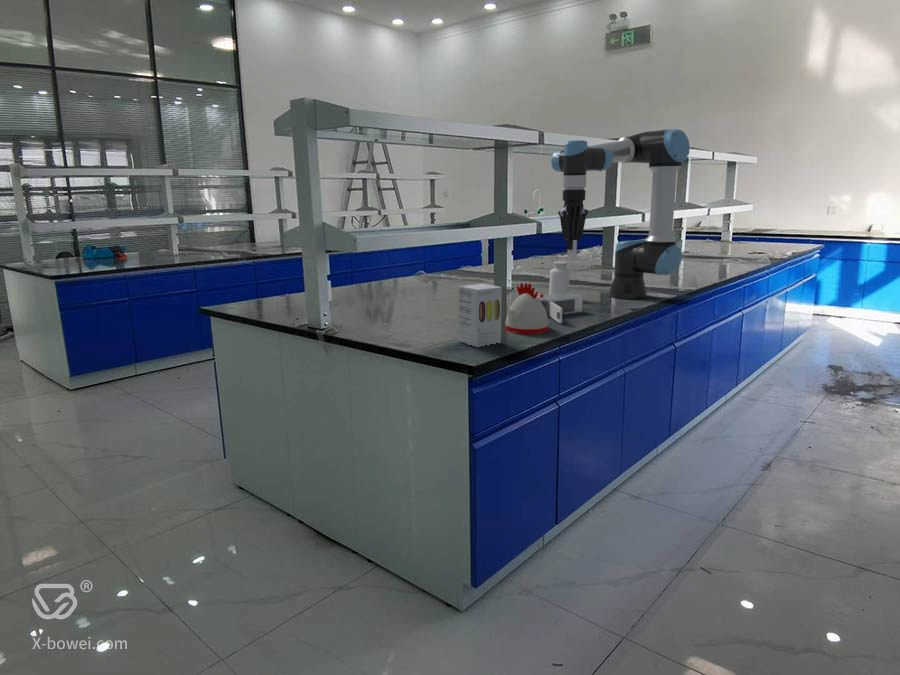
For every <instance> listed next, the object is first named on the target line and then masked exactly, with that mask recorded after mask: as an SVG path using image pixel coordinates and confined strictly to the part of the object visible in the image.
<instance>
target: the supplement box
mask: <svg viewBox="0 0 900 675" xmlns="http://www.w3.org/2000/svg"><path fill="white" fill-rule="evenodd" d="M502 293H503V288H502V286H498V285H492V284H488V283H478V284H469V285H459V286H458V342H459V341H460V342H459V343H462V342H463V344H465V343H466V344H465V345H469V346H471V345H472V346H471V347H474V346H475V347H474V348H481V346H482V347H486V346H485V345H487V346H491V345H490V344H493V345H497V344H496V343H498V344H501V342H502V341H501V340H502V304H503V303H502V302H503V300H502V295H503V294H502Z"/></svg>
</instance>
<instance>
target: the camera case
mask: <svg viewBox="0 0 900 675" xmlns="http://www.w3.org/2000/svg"><path fill="white" fill-rule="evenodd" d="M537 298H538V299H539V300H540V301H541V303H542V304H543V306H544V307H545V310H546V314H547V317H548V318H550V317H549V301H553V303H555V304H556V305H558V306H559V307H561V308H562V314H564V315H570V313H572V314H578V313H577V312H579V313H583V298H584V297H583V295H581V294H575V293H570V292H569V293H567V292H561V293H552V294H549V293H545V294H544V293H538V295H537Z"/></svg>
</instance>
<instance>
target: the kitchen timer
mask: <svg viewBox="0 0 900 675" xmlns="http://www.w3.org/2000/svg"><path fill="white" fill-rule="evenodd" d="M535 290H536V288H535V287H532V284H531V283H527V282H526V283H524V284H523V282H521V283H519V285H517V286H516V291H517V293H518V295H519V296H518V297H516V299H515V300H514V301H513V302H512V304H511V305H510V307H509V309H508V311H507V315H506V318H505V325H504V328H505V331H506V330H507V331H506V332H508V331H510V332H509V333H511V332H514V333H513V334H517V333H522V334H521V335H537V333H540V334H544V333H543V332H545V333H547V332H548V331H549V330H548V329H549V327H550V324H549V317H547V314H546V310H545V307H544V306H543V304H542V303H541V301H540V300H539V299H538V298H537V295H539V291H536V292H535ZM546 331H547V332H546Z"/></svg>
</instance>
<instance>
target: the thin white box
mask: <svg viewBox="0 0 900 675" xmlns="http://www.w3.org/2000/svg"><path fill="white" fill-rule="evenodd" d="M548 318H552V319H553V320H554V321H555V322H557V323H559V324H563V315H562V308H561V307H559V306H558V305H556V304H555V303H553V301H549V317H548Z"/></svg>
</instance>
